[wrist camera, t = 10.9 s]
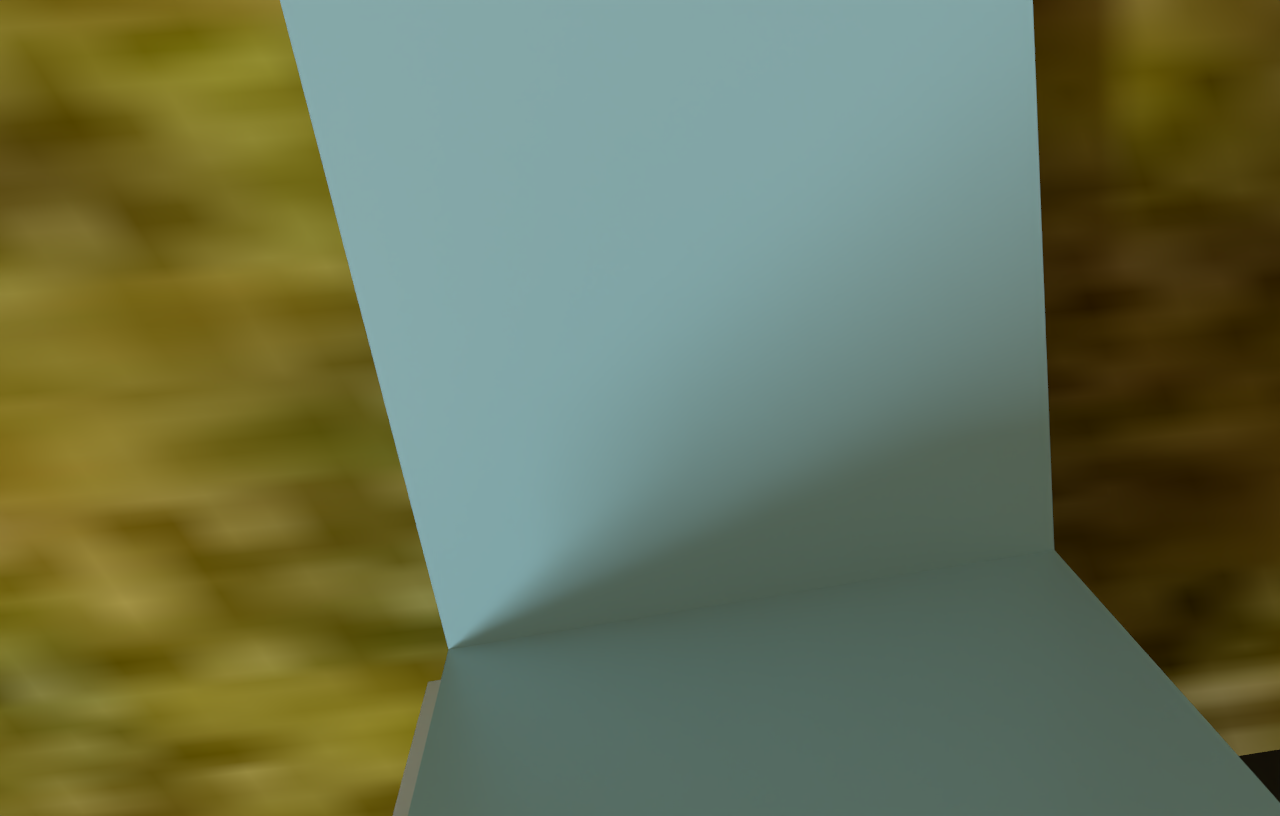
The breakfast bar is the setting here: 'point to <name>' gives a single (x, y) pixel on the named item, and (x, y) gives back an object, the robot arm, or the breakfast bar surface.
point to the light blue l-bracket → (733, 411)
